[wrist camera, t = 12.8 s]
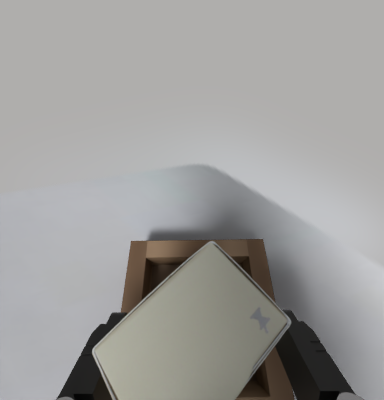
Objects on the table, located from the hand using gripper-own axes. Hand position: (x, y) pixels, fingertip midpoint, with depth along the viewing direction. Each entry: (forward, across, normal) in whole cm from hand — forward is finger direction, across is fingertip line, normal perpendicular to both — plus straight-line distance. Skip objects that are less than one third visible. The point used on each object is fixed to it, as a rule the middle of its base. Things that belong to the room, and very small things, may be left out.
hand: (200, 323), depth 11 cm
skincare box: (+6, 0, +6) cm, 8 cm away
